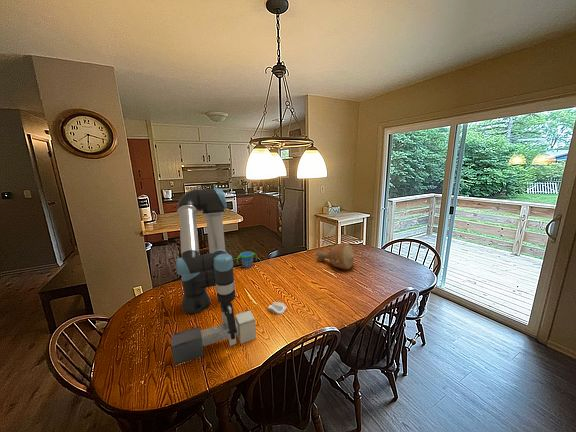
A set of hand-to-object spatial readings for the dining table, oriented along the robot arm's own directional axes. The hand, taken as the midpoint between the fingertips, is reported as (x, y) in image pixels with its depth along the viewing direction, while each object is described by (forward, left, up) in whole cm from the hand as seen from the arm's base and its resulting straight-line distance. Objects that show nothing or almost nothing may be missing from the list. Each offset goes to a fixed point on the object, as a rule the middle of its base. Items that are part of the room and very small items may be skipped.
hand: (229, 333), depth 104 cm
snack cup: (-23, +75, -4) cm, 78 cm away
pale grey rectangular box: (-2, -2, 0) cm, 3 cm away
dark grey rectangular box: (-12, -11, -4) cm, 17 cm away
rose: (+14, +27, -4) cm, 31 cm away
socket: (+6, +5, -4) cm, 8 cm away
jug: (+43, +90, -4) cm, 100 cm away
